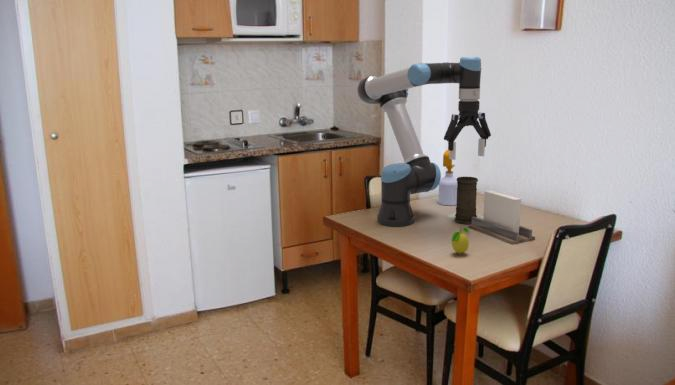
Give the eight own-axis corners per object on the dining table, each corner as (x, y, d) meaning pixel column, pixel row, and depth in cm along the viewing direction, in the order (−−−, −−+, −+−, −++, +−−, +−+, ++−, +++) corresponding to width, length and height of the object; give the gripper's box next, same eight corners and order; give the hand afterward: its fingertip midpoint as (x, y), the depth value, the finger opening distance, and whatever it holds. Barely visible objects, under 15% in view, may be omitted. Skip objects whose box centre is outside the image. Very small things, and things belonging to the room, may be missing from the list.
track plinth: (512, 244, 199) (512, 233, 198) (468, 227, 220) (468, 217, 219) (534, 239, 204) (535, 229, 203) (489, 223, 225) (490, 213, 224)
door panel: (512, 237, 204) (514, 199, 201) (483, 225, 218) (484, 191, 215) (520, 235, 205) (522, 198, 202) (490, 224, 219) (491, 190, 216)
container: (477, 224, 223) (479, 181, 219) (454, 224, 225) (456, 180, 220) (476, 218, 231) (478, 176, 227) (454, 217, 233) (455, 175, 229)
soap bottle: (461, 202, 258) (463, 149, 252) (454, 206, 251) (455, 152, 245) (442, 200, 263) (444, 148, 257) (435, 204, 255) (436, 151, 250)
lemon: (468, 251, 193) (469, 223, 190) (471, 256, 187) (472, 228, 185) (448, 251, 193) (449, 223, 191) (451, 256, 187) (452, 228, 185)
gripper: (447, 102, 195) (446, 162, 200) (502, 99, 206) (499, 155, 211) (435, 101, 202) (433, 159, 206) (488, 98, 212) (485, 153, 217)
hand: (466, 157), depth 209 cm, fingers open, 13 cm apart
